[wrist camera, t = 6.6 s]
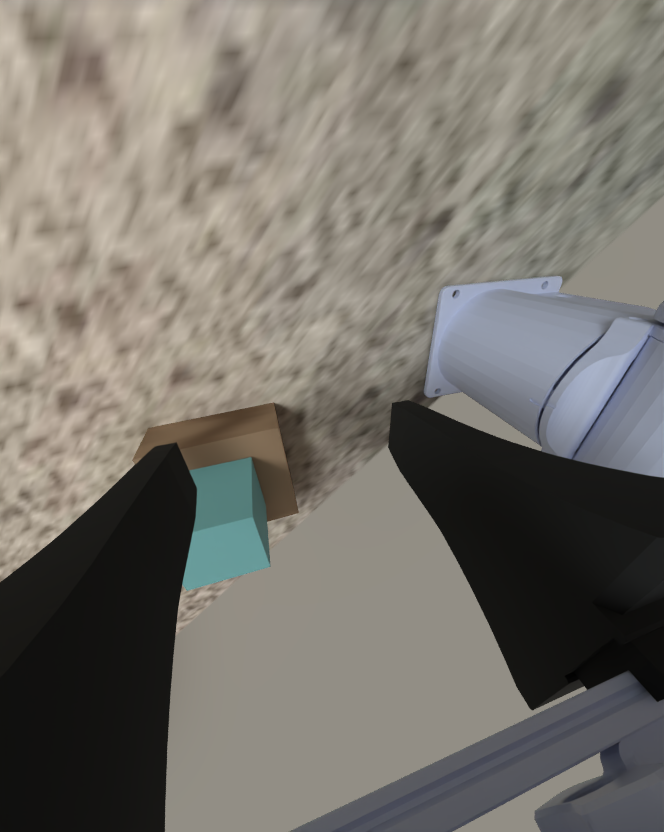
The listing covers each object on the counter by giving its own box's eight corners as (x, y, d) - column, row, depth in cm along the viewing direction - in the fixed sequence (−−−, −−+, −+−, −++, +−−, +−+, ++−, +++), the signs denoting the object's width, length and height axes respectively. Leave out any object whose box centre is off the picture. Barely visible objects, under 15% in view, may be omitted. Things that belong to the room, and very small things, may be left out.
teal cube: (251, 457, 17) (252, 516, 13) (265, 505, 19) (270, 566, 16) (173, 474, 16) (151, 542, 13) (198, 521, 19) (187, 590, 15)
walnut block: (273, 399, 19) (278, 427, 16) (291, 480, 24) (298, 512, 21) (150, 425, 18) (132, 460, 15) (194, 505, 22) (187, 544, 19)
